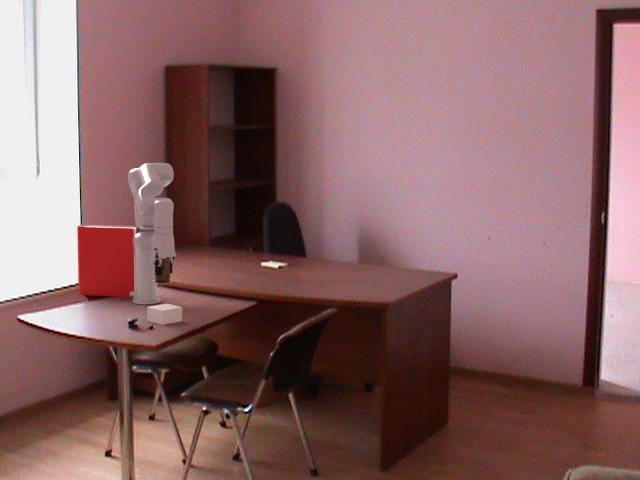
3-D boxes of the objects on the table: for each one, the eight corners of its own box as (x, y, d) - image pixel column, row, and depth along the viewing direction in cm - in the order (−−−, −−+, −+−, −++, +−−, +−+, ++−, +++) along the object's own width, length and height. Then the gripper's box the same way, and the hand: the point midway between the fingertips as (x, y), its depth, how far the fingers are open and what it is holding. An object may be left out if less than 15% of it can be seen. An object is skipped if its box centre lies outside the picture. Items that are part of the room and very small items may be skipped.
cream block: (147, 321, 375) (147, 306, 375) (167, 317, 383) (167, 303, 382) (162, 325, 369) (162, 310, 368) (182, 321, 376) (182, 307, 375)
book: (139, 293, 431) (139, 226, 427) (134, 297, 423) (133, 228, 419) (83, 291, 434) (82, 224, 430) (77, 294, 426) (76, 226, 422)
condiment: (168, 279, 378) (168, 250, 377) (174, 283, 371) (174, 253, 369) (151, 280, 375) (151, 251, 373) (156, 284, 367) (156, 254, 366)
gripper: (169, 227, 380) (169, 270, 382) (142, 232, 365) (142, 276, 367) (183, 229, 376) (184, 272, 379) (157, 233, 361) (157, 278, 364)
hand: (163, 274), depth 373 cm, fingers closed on condiment, 6 cm apart
